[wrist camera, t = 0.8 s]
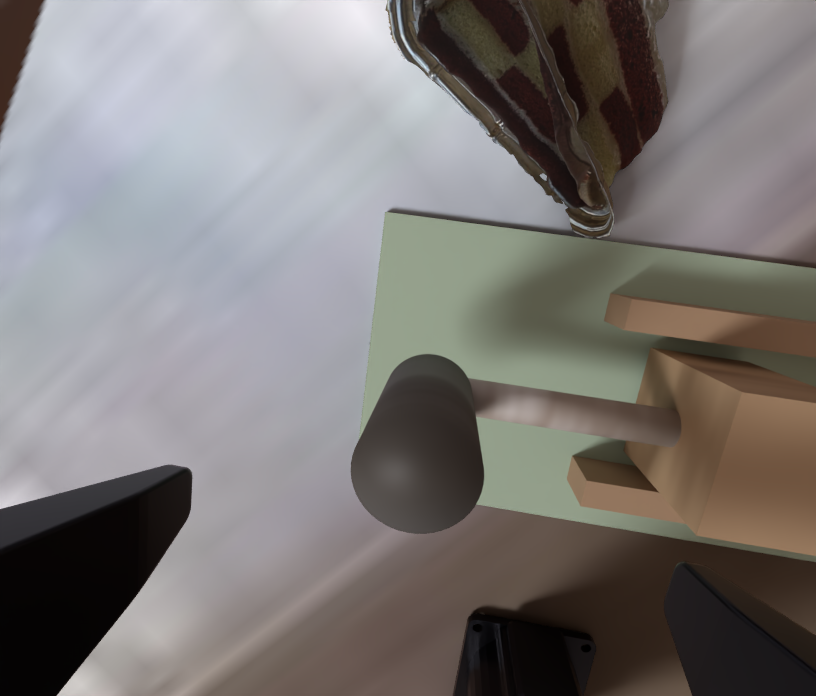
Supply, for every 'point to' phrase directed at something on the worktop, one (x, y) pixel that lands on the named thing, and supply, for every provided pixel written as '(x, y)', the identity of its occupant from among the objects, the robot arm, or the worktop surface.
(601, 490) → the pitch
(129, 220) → the worktop surface
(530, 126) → the chocolate cake
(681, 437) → the sled
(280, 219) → the worktop surface
